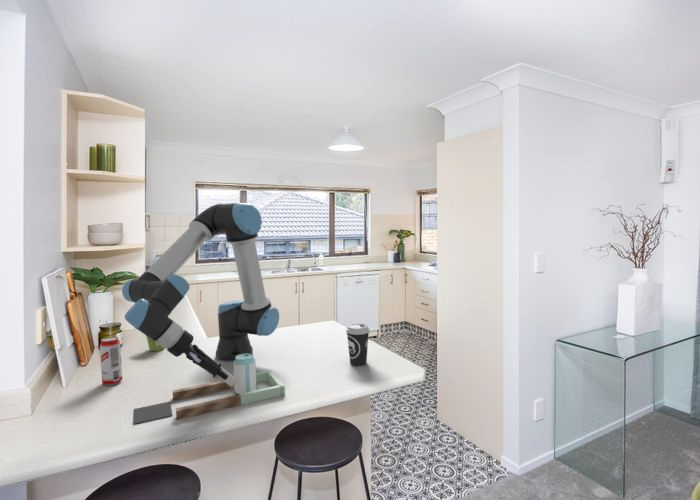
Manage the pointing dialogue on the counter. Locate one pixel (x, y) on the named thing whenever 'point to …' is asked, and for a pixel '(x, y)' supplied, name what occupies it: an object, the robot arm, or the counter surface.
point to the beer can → (111, 361)
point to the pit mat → (152, 412)
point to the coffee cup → (357, 343)
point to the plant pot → (153, 345)
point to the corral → (264, 393)
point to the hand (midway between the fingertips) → (233, 382)
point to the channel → (204, 406)
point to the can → (244, 373)
